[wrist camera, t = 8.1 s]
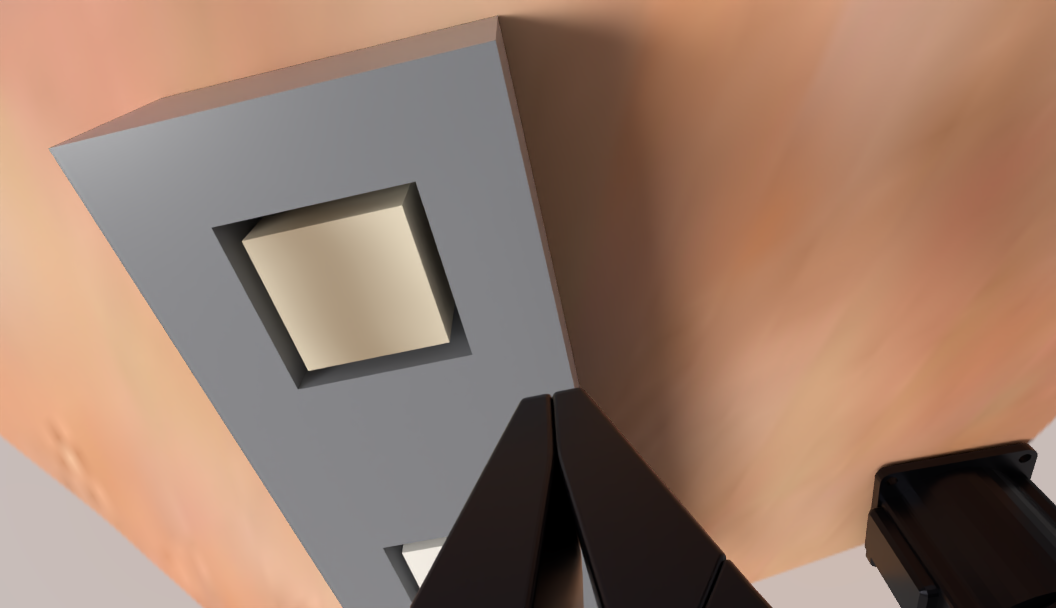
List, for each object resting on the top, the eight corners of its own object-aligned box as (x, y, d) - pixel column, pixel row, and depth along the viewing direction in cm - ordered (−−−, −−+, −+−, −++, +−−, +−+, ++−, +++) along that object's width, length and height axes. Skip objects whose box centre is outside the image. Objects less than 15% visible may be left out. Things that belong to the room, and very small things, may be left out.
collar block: (497, 15, 17) (495, 40, 12) (611, 529, 28) (631, 636, 23) (161, 98, 17) (48, 148, 13) (403, 565, 28) (386, 674, 24)
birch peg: (425, 146, 18) (402, 205, 14) (460, 261, 20) (449, 342, 16) (300, 175, 18) (241, 241, 14) (347, 285, 21) (308, 370, 16)
